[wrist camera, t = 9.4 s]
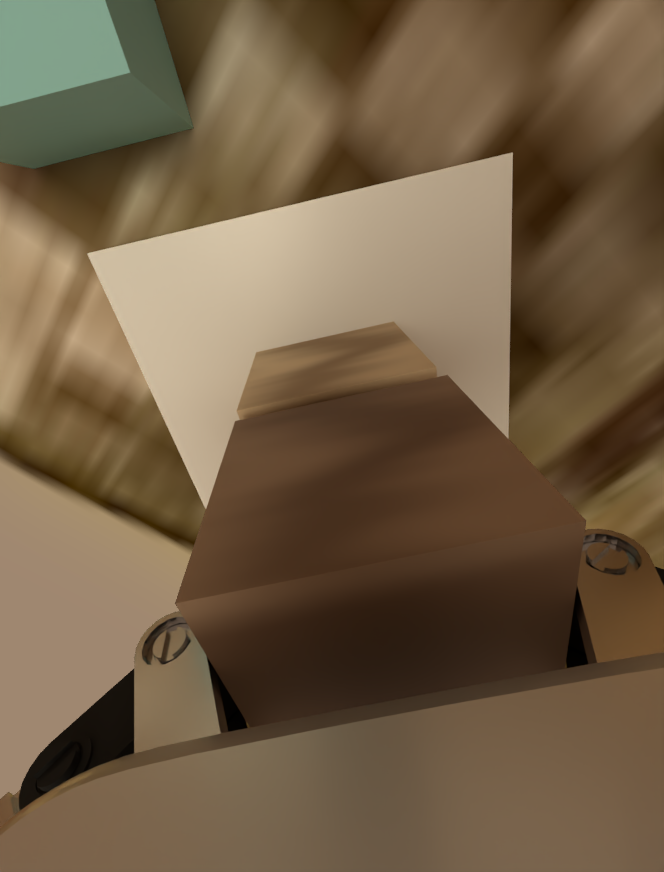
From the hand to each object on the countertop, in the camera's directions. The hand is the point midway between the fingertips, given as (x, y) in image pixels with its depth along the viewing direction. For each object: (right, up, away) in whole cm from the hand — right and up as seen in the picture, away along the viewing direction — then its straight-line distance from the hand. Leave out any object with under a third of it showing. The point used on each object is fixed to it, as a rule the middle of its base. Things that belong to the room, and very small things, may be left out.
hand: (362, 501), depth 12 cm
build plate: (-1, +4, +8) cm, 9 cm away
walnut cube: (0, 0, +1) cm, 1 cm away
